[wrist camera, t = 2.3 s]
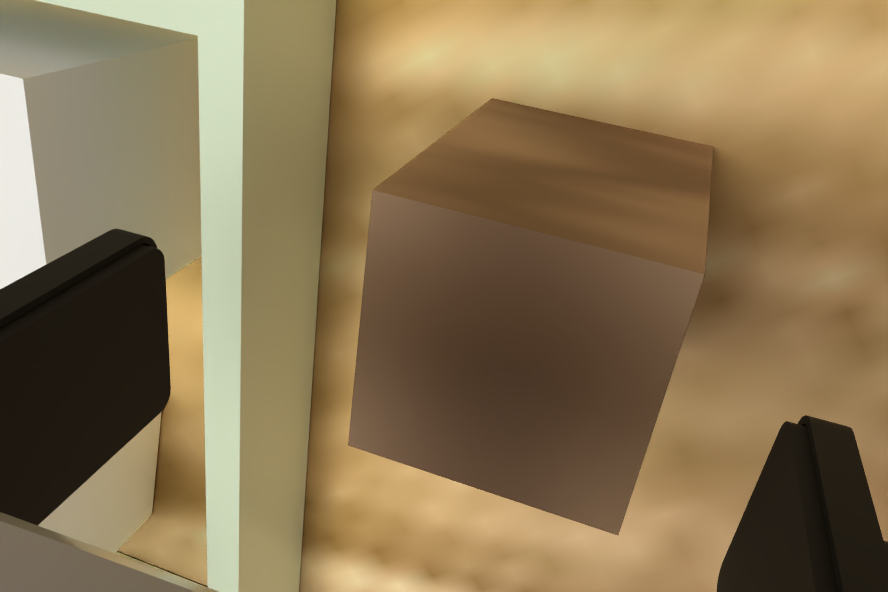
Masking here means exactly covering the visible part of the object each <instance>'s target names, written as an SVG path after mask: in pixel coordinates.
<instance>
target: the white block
mask: <svg viewBox="0 0 888 592" xmlns="http://www.w3.org/2000/svg"><path fill="white" fill-rule="evenodd" d="M112 229H122V230H125V231H129V232H133V233H136V234H140V235H144V236H147V237H150V238H152V239H153V240H154V241H155V243H156V245H157V249H159V250H161V251H162V253H163V255H164V260H165V279H167V278H169V277H170V276H172V275H173V274H175V273H177V272H178V271H180V270H181V269H183V268H184V267H186V266H187V265H189V264H191V263H192V262H194V261H195V260H197V259H198V258H200V257H201V256H202V245H201V189H200V133H199V77H198V36H197V35H192V34H188V33H183V32H179V31H174V30H169V29H165V28H160V27H156V26H151V25H146V24H142V23H137V22H132V21H128V20H123V19H119V18H114V17H109V16H105V15H100V14H96V13H91V12H86V11H82V10H77V9H73V8H68V7H63V6H59V5H54V4H50V3H45V2H40V1H36V0H0V289H2V288H3V287H5V286H7V285H9V284H11V283H13V282H15V281H16V280H18V279H20V278H22V277H24V276H26V275H28V274H30V273H31V272H33V271H35V270H37V269H39V268H41V267H43V266H44V265H46V264H48V263H50V262H52V261H54V260H56V259H57V258H59V257H61V256H63V255H65V254H67V253H69V252H70V251H72V250H74V249H76V248H78V247H80V246H82V245H83V244H85V243H87V242H89V241H91V240H93V239H95V238H96V237H98V236H100V235H102V234H104V233H106V232H108V231H110V230H112Z"/></svg>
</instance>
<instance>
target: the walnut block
mask: <svg viewBox="0 0 888 592" xmlns="http://www.w3.org/2000/svg"><path fill="white" fill-rule="evenodd" d="M712 161H713V147H712V146H708V145H703V144H698V143H694V142H689V141H685V140H680V139H675V138H671V137H666V136H662V135H657V134H653V133H648V132H643V131H639V130H634V129H630V128H625V127H620V126H616V125H611V124H607V123H602V122H598V121H593V120H588V119H584V118H579V117H575V116H570V115H565V114H561V113H556V112H552V111H547V110H543V109H538V108H533V107H529V106H524V105H520V104H515V103H510V102H506V101H501V100H497V99H491V100H489V101H488V102H487V103H485V104H484V105H483V106H482V107H480V108H479V109H478V110H476V111H475V112H474V113H472V114H471V115H470V116H469V117H467V118H466V119H465V120H463V121H462V122H461V123H459V124H458V125H457V126H455V127H454V128H453V129H452V130H450V131H449V132H448V133H446V134H445V135H444V136H442V137H441V138H440V139H439V140H437V141H436V142H435V143H433V144H432V145H431V146H429V147H428V148H427V149H426V150H424V151H423V152H422V153H420V154H419V155H418V156H416V157H415V158H414V159H413V160H411V161H410V162H409V163H407V164H406V165H405V166H403V167H402V168H401V169H400V170H398V171H397V172H396V173H394V174H393V175H392V176H390V177H389V178H388V179H386V180H385V181H384V182H383V183H381V184H380V185H379V186H377V187H376V188H375V189H373V192H372V203H371V213H370V223H369V234H368V244H367V255H366V265H365V275H364V286H363V296H362V306H361V317H360V327H359V338H358V348H357V358H356V369H355V379H354V389H353V400H352V410H351V421H350V431H349V441H348V445H349V446H352V447H355V448H358V449H361V450H364V451H367V452H370V453H373V454H376V455H379V456H382V457H385V458H388V459H391V460H394V461H397V462H400V463H403V464H406V465H409V466H412V467H415V468H418V469H421V470H424V471H427V472H429V473H432V474H435V475H438V476H441V477H444V478H447V479H450V480H453V481H456V482H459V483H462V484H465V485H468V486H471V487H474V488H477V489H480V490H483V491H486V492H489V493H492V494H495V495H498V496H501V497H504V498H507V499H510V500H513V501H516V502H519V503H522V504H525V505H528V506H531V507H534V508H537V509H540V510H543V511H546V512H549V513H552V514H555V515H558V516H561V517H564V518H567V519H570V520H573V521H576V522H579V523H582V524H585V525H588V526H591V527H594V528H597V529H600V530H603V531H606V532H609V533H612V534H615V535H618V534H619V531H620V528H621V525H622V522H623V519H624V516H625V513H626V510H627V507H628V504H629V501H630V498H631V495H632V492H633V489H634V486H635V483H636V480H637V477H638V474H639V471H640V468H641V465H642V462H643V459H644V456H645V453H646V450H647V447H648V444H649V441H650V438H651V435H652V432H653V429H654V426H655V423H656V420H657V417H658V414H659V411H660V408H661V405H662V402H663V399H664V396H665V393H666V390H667V387H668V384H669V381H670V378H671V375H672V372H673V369H674V366H675V363H676V360H677V357H678V354H679V351H680V348H681V345H682V342H683V339H684V336H685V333H686V330H687V327H688V324H689V321H690V318H691V315H692V312H693V309H694V305H695V302H696V299H697V296H698V293H699V290H700V287H701V284H702V281H703V278H704V275H705V265H706V250H707V235H708V220H709V206H710V191H711V176H712Z"/></svg>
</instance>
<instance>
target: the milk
mask: <svg viewBox="0 0 888 592" xmlns="http://www.w3.org/2000/svg"><path fill="white" fill-rule="evenodd" d="M160 422H161V413H160V414H159V415H158V416H156V417H155V418H154V419H153V420H152V421H151V422H150V423H149V424H148V425H147V426H146V427H144V428H143V429H142V430H141V431H140V432H139V433H138V434H137V435H136V436H135V437H134V438H133V439H131V440H130V441H129V442H128V443H127V444H126V445H125V446H124V447H123V448H122V449H121V450H119V451H118V452H117V453H116V454H115V455H114V456H113V457H112V458H111V459H110V460H109V461H108V462H106V463H105V464H104V465H103V466H102V467H101V468H100V469H99V470H98V471H97V472H96V473H94V474H93V475H92V476H91V477H90V478H89V479H88V480H87V481H86V482H85V483H84V484H83V485H81V486H80V487H79V488H78V489H77V490H76V491H75V492H74V493H73V494H72V495H71V496H69V497H68V498H67V499H66V500H65V501H64V502H63V503H62V504H61V505H60V506H59V507H58V508H56V509H55V510H54V511H53V512H52V513H51V514H50V515H49V516H48V517H47V518H46V519H44V520H43V521H42V522H41V523H40V524H39V525H38V526H40V527H43V528H46V529H48V530H51V531H54V532H57V533H59V534H62V535H65V536H68V537H71V538H73V539H76V540H79V541H82V542H84V543H87V544H90V545H93V546H96V547H98V548H101V549H104V550H107V551H109V552H112V553H116V552H117V551H118V550H119V549H120V548H121V547H122V546H123V545H124V543H125V542H126V541H127V540H128V539H129V538H130V537H131V536H132V535H133V534H134V533H135V532H136V531H137V530H138V529H139V528H140V527H141V526H142V525H143V524H144V523H145V522H146V521H147V520H148V519H149V517H150V516H151V514H152V509H153V498H154V487H155V476H156V465H157V455H158V444H159V433H160Z"/></svg>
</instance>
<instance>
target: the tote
mask: <svg viewBox="0 0 888 592" xmlns="http://www.w3.org/2000/svg"><path fill="white" fill-rule="evenodd" d="M36 1H40V2H45V3H50V4H54V5H59V6H63V7H68V8H73V9H77V10H82V11H86V12H91V13H96V14H100V15H105V16H109V17H114V18H119V19H123V20H128V21H132V22H137V23H142V24H146V25H151V26H156V27H160V28H165V29H169V30H174V31H179V32H183V33H188V34H192V35H197V36H198V77H199V133H200V189H201V245H202V301H203V357H204V413H205V469H206V525H207V581H208V588H211V589H213V590H216V591H219V592H299V584H300V568H301V553H302V537H303V521H304V505H305V489H306V474H307V458H308V442H309V426H310V410H311V395H312V379H313V363H314V347H315V331H316V316H317V300H318V284H319V268H320V252H321V237H322V221H323V205H324V189H325V173H326V158H327V142H328V126H329V110H330V94H331V79H332V63H333V47H334V31H335V15H336V0H36ZM115 554H118V555H120V556H123V557H126V558H129V559H131V560H134V561H137V562H140V563H142V564H145V565H148V566H150V567H153V568H156V569H159V568H157V567H154V566H152V565H149V564H147V563H144V562H142V561H139V560H137V559H134V558H132V557H129V556H127V555H124V554H121V553H119V552H116V553H115ZM159 570H161V571H164V572H167V571H165V570H162V569H159ZM167 573H170V572H167ZM170 574H172V573H170ZM172 575H175V574H172ZM175 576H177V575H175ZM178 577H180V576H178ZM181 578H182V577H181ZM183 579H185V578H183ZM186 580H187V579H186ZM189 581H190V580H189ZM191 582H192V581H191ZM194 583H195V582H194ZM202 586H203V585H202Z"/></svg>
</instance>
